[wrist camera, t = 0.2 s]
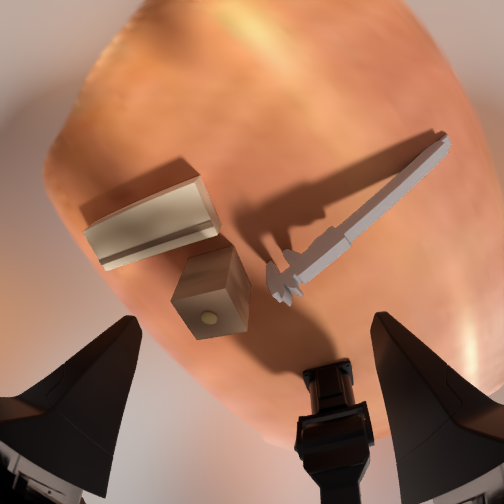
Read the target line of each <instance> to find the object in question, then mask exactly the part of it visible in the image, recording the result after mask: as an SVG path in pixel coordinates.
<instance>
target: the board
mask: <svg viewBox="0 0 504 504" xmlns="http://www.w3.org/2000/svg"><path fill="white" fill-rule="evenodd" d="M220 227H221V222H220V219H219V217H218V215H217V213H216V210H215V208H214V206H213V203H212V201H211V199H210V196H209V194H208V192H207V189H206V187H205V185H204V182H203V180H202V178H201V175H200V176H197V177H194V178H192V179H189V180H187V181H184V182H182V183H179V184H177V185H174V186H172V187H169V188H167V189H164V190H162V191H160V192H157V193H155V194H153V195H150V196H148V197H146V198H144V199H141V200H139V201H137V202H135V203H132V204H130V205H128V206H126V207H124V208H122V209H120V210H117V211H115V212H113V213H111V214H109V215H107V216H105V217H103V218H101V219H99V220H97V221H95V222H93V223H92V224H91V225H90V226H89V227H88V228H86V229H85V230H84V231H83V233H84V235H85V237H86V239H87V240H88V242H89V244H90V245H91V247H92V249H93V251H94V252H95V254H96V256H97V257H98V259H99V262H100V263H101V265H103V267H104V268H105V270H106V271H109V270H112V269H114V268H117V267H120V266H123V265H126V264H129V263H132V262H135V261H138V260H141V259H144V258H147V257H150V256H153V255H157V254H160V253H163V252H166V251H169V250H172V249H175V248H178V247H181V246H184V245H188V244H191V243H194V242H197V241H200V240H204V239H207V238H210V237H213V236H216V235H218V233H219V230H220Z"/></svg>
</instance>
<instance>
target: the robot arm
mask: <svg viewBox="0 0 504 504" xmlns="http://www.w3.org/2000/svg"><path fill="white" fill-rule="evenodd" d="M370 334H371V340H372V346H373V352H374V359H375V365H376V370H377V374H378V378H379V382H380V386H381V390H382V394H383V398H384V403H385V407H386V411H387V416H388V421H389V425H390V430H391V435H392V440H393V446H394V451H395V457H396V463H397V464H396V465H397V471H398V478H399V486H400V494H401V503H402V504H420V503H422V502H425V501H428V500H430V499H433V502H434V504H504V405H502V404H499V403H497V402H495V401H493V400H492V399H490V398H489V397H488V396H486V395H485V394H484V393H482V392H481V391H480V390H478V389H477V388H476V387H474V386H473V385H472V384H470V383H469V382H468V381H467V380H465V379H464V378H463V377H462V376H461V375H459V374H458V373H457V372H456V371H455V370H454V369H452V368H451V367H450V366H449V365H447V363H446V362H445V361H443V360H442V359H441V358H440V357H439V356H438V355H437V354H436V353H434V352H433V351H432V350H431V349H430V348H429V347H428V346H426V345H425V344H424V343H423V342H422V341H421V340H419V339H418V338H417V337H416V336H415V335H414V334H412V333H411V332H410V331H409V330H408V329H407V328H405V327H404V326H403V325H402V324H401V323H400V322H398V321H397V320H396V319H395V318H394V317H392V316H391V315H390V314H389V313H388V312H386V311H383V312H376V313H375V315H374V318H373V322H372V325H371V329H370ZM141 340H142V330H141V328H140V325H139V323H138V321H137V318H136V317H135V316H130V315H126V316H124V317H123V318H121V319H120V320H119V321H117V322H116V323H115V324H114V325H112V326H111V327H109V328H108V329H107V330H106V331H104V332H103V333H102V334H100V335H99V336H98V337H97V338H95V339H94V340H93V341H92V342H90V343H89V344H88V345H86V346H85V347H84V348H83V349H81V350H80V351H79V352H77V353H76V354H75V355H74V356H72V357H71V358H70V359H69V360H68V361H66V362H65V363H64V364H62V365H61V366H60V367H59V368H57V369H56V370H55V371H53V372H52V373H51V374H50V375H48V376H47V377H45V378H44V379H43V380H41V381H40V382H38V383H37V384H35V385H34V386H32V387H31V388H29V389H28V390H26V391H25V392H23V393H22V394H20V395H18V396H15V397H0V504H86V503H85V501H84V499H83V498H82V497H81V496H82V492H83V490H85V491H87V492H90V493H92V494H95V495H97V496H99V497H102V498H105V497H106V493H107V487H108V481H109V476H110V471H111V466H112V461H113V455H114V451H115V446H116V441H117V437H118V433H119V429H120V425H121V421H122V417H123V413H124V409H125V405H126V401H127V398H128V394H129V391H130V387H131V384H132V380H133V377H134V373H135V370H136V365H137V360H138V355H139V350H140V345H141ZM303 378H304V380H305V383H306V385H307V388H308V390H309V393H310V398H311V409H312V415H308V416H299V420H298V422H297V436H296V442H295V446H294V450H295V451H296V452H298V454H299V457H300V459H301V460H302V461H303V467H304V469H305V470H306V472H307V473H308V474H309V475H310V476H311V478H312V479H313V480H314V481H315V482H316V484H317V485H318V486H319V487H320V496H321V504H361V494H360V482H361V480H362V478H363V476H364V474H365V472H366V470H367V468H368V466H369V464H370V452H369V447H370V446H374V437H373V431H372V425H371V421H370V416H369V412H368V408H367V403H366V401H363V402H362V403H358V404H355V399H354V394H353V389H352V386H353V375H352V366H351V362H350V361H346V362H342V363H338V364H334V365H330V366H325V367H321V368H317V369H312V370H307V371H304V372H303Z"/></svg>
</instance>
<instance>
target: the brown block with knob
mask: <svg viewBox="0 0 504 504" xmlns="http://www.w3.org/2000/svg"><path fill="white" fill-rule="evenodd" d="M250 294H251V283H250V281H249V279H248V276H247V274H246V272H245V270H244V267H243V265H242V263H241V260H240V258H239V256H238V253H237V251H236V249H235V247H234V245H233V246H230V247H227V248H223V249H220V250H216V251H213V252H209V253H206V254H203V255H199V256H196V257H192V258H189V259H188V261H187V263H186V266H185V268H184V270H183V273H182V275H181V277H180V280H179V282H178V284H177V287H176V289H175V292H174V294H173V296H172V299H171V303H172V304H173V306H174V307H175V309H176V310H177V312H178V313H179V315H180V316H181V318H182V319H183V321H184V322H185V324H186V325H187V327H188V328H189V330H190V331H191V332H192V334H193V335H194V337H195V338H196V340H201V339H208V338H213V337H219V336H225V335H230V334H236V333H241V332H246V331H248V320H249V307H250Z"/></svg>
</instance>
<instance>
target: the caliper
mask: <svg viewBox="0 0 504 504" xmlns="http://www.w3.org/2000/svg"><path fill="white" fill-rule="evenodd" d="M451 144H452V143H451V141H450V139H449V137H448V134H445V135H444V136H443V137H442V138H441V139H440V140H439V141H436V142H435V143H433V144H432V145H431V146H429V147H428V148H427V149H425V150H424V151H423V152H422V153H421V154H420V155H419V156H418V157H416V158H415V159H414V160H413V161H412V162H411V163H410V164H409V165H408V166H407V167H406V168H404V169H403V170H402V171H401V172H400V173H399V174H398V175H397V176H396V177H395V178H393V179H392V180H391V181H390V182H389V183H388V184H387V185H386V186H385V187H383V188H382V189H381V190H380V191H379V192H378V193H377V194H375V195H374V196H373V197H372V198H371V199H370V200H368V201H367V202H366V203H365V204H364V205H363V206H362V207H360V208H359V209H358V210H357V211H356V212H355V213H353V214H352V215H351V216H350V217H349V218H348V219H346V220H345V221H344V222H343V223H342V224H340V225H339V226H338V227H337V228H334V227H333V226H331V227H329V228H328V229H327V230H326V231H325V232H324V233H323V234H322V235H321V236H319V237H318V238H316V239H315V241H314V242H313V243H312V244H311V245H310V246H309V248H308V249H307V250H306V251H305V252H303V253H302V254H300V253H297V252H295V251H292V250H289V249H286V250H284V251H283V252H282V253H283V254H284V255H283V256H284V257H285V259H286V260H287V262H288V263H289V264H290V267H289V268H287V269H286V270H285V271H284V272H282V273H280V271H279V269H278V267H277V266H276V265H275V264H274V263H273V262H272V261H271V260H270V261H269V262H268V263H267V265H266V284H267V286H268V288H269V290H270V292H271V294H272V296H273V297H274V298H275V299H276V300H277V301H278V302H279V303H281V302H282V301H284V302H285V303H286V304H287V305H288V306H289V307H290V306H291V304H292V297H293V295H292V293H291V291H292V292H293V293H294V294H295V295H298V296H304V294H303V293H302V291H301V290H300V289H299V287H300V284H301V283H304V284H306V283H308V282H309V281H310V280H311V279H313V278H314V277H315V276H316V275H318V274H319V273H320V272H321V271H323V270H324V269H325V268H326V267H327V266H329V265H330V264H331V263H332V262H333V261H335V260H336V259H337V258H338V257H339V256H341V255H342V254H343V253H344V252H345V251H346V250H348V249H349V248H350V247H351V244H350V243H351V242H352V241H353V240H355V239H356V238H357V237H358V236H359V235H360V234H362V233H363V232H364V231H365V230H366V229H367V228H369V227H370V226H371V225H372V224H373V223H374V222H375V221H377V220H378V219H379V218H380V217H381V216H382V215H383V214H384V213H386V212H387V211H388V210H389V209H390V208H391V207H392V206H393V205H394V204H396V203H397V202H398V201H399V200H400V199H401V198H402V197H403V196H404V195H405V194H406V193H408V192H409V191H410V190H411V189H412V188H413V187H414V186H415V185H416V184H417V183H418V182H419V181H420V180H421V179H422V178H423V177H425V176H426V175H427V174H428V173H429V172H430V171H431V170H432V169H433V168H434V167H435V166H436V165H437V164H438V163H439V162H440V161H441V160H442V159H443V158H444V157H445V156H446V155H447V154H448V153H449V151H448V148H449V147H450V146H451Z"/></svg>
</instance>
